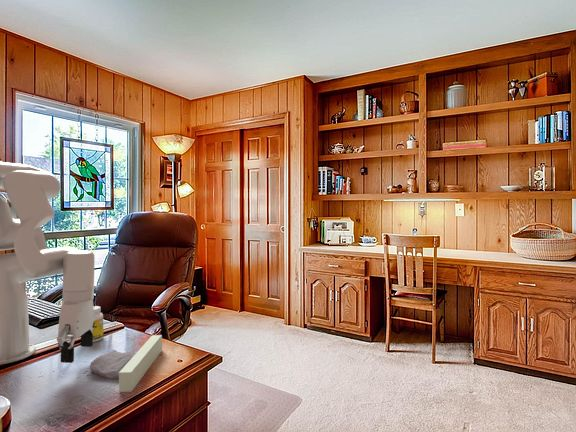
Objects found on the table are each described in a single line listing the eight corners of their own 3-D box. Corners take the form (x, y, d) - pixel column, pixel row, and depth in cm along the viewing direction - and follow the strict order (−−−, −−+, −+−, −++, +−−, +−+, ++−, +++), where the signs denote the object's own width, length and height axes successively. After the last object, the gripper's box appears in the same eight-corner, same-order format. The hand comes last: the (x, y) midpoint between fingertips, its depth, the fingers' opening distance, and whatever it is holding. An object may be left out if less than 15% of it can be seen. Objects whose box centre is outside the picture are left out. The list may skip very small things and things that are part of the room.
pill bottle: (79, 343, 117) (78, 310, 116) (89, 336, 123) (88, 305, 122) (97, 343, 117) (97, 310, 116) (107, 335, 123) (106, 305, 122)
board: (119, 392, 87) (118, 372, 87) (152, 350, 111) (152, 335, 111) (131, 391, 87) (131, 372, 87) (162, 350, 111) (161, 335, 111)
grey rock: (121, 387, 93) (144, 363, 102) (118, 371, 92) (141, 348, 101) (85, 383, 96) (110, 360, 105) (81, 367, 95) (107, 346, 104)
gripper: (81, 285, 106) (80, 340, 107) (44, 303, 88) (43, 368, 90) (106, 286, 106) (105, 341, 107) (74, 305, 89) (73, 369, 90)
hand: (77, 353), depth 98 cm, fingers open, 9 cm apart
